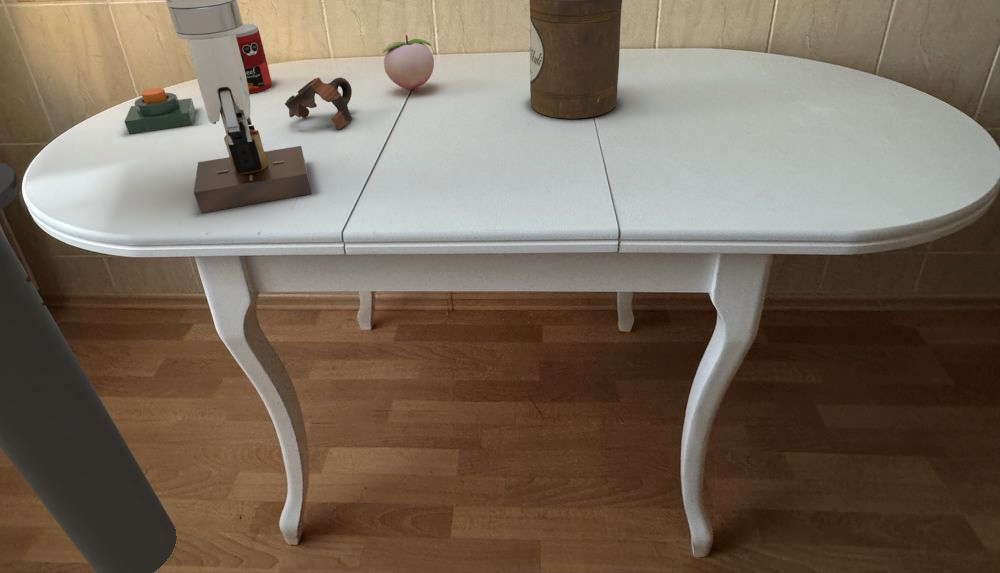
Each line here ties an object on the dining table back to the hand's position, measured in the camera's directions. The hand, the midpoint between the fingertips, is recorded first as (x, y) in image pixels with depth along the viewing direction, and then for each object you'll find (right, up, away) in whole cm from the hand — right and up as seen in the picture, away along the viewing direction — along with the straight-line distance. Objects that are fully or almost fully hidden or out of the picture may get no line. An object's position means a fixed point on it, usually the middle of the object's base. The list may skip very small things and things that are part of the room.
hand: (249, 161), depth 83 cm
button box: (-25, +12, +25) cm, 37 cm away
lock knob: (0, -1, 0) cm, 1 cm away
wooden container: (+46, +15, +25) cm, 54 cm away
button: (-25, +15, +23) cm, 37 cm away
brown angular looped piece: (+4, +11, +22) cm, 25 cm away
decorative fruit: (+18, +20, +33) cm, 43 cm away
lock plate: (0, -3, +2) cm, 4 cm away
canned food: (-15, +22, +39) cm, 47 cm away
